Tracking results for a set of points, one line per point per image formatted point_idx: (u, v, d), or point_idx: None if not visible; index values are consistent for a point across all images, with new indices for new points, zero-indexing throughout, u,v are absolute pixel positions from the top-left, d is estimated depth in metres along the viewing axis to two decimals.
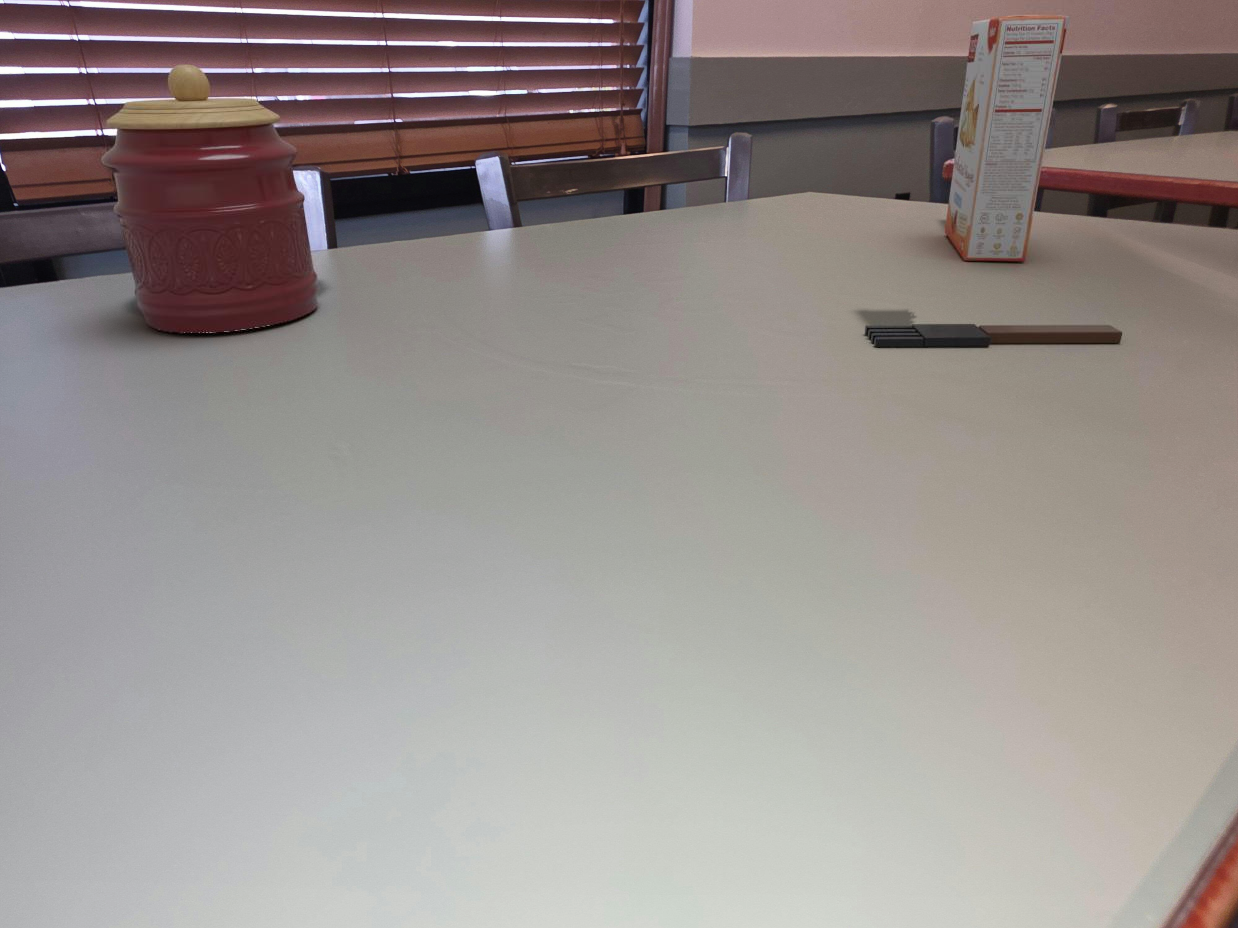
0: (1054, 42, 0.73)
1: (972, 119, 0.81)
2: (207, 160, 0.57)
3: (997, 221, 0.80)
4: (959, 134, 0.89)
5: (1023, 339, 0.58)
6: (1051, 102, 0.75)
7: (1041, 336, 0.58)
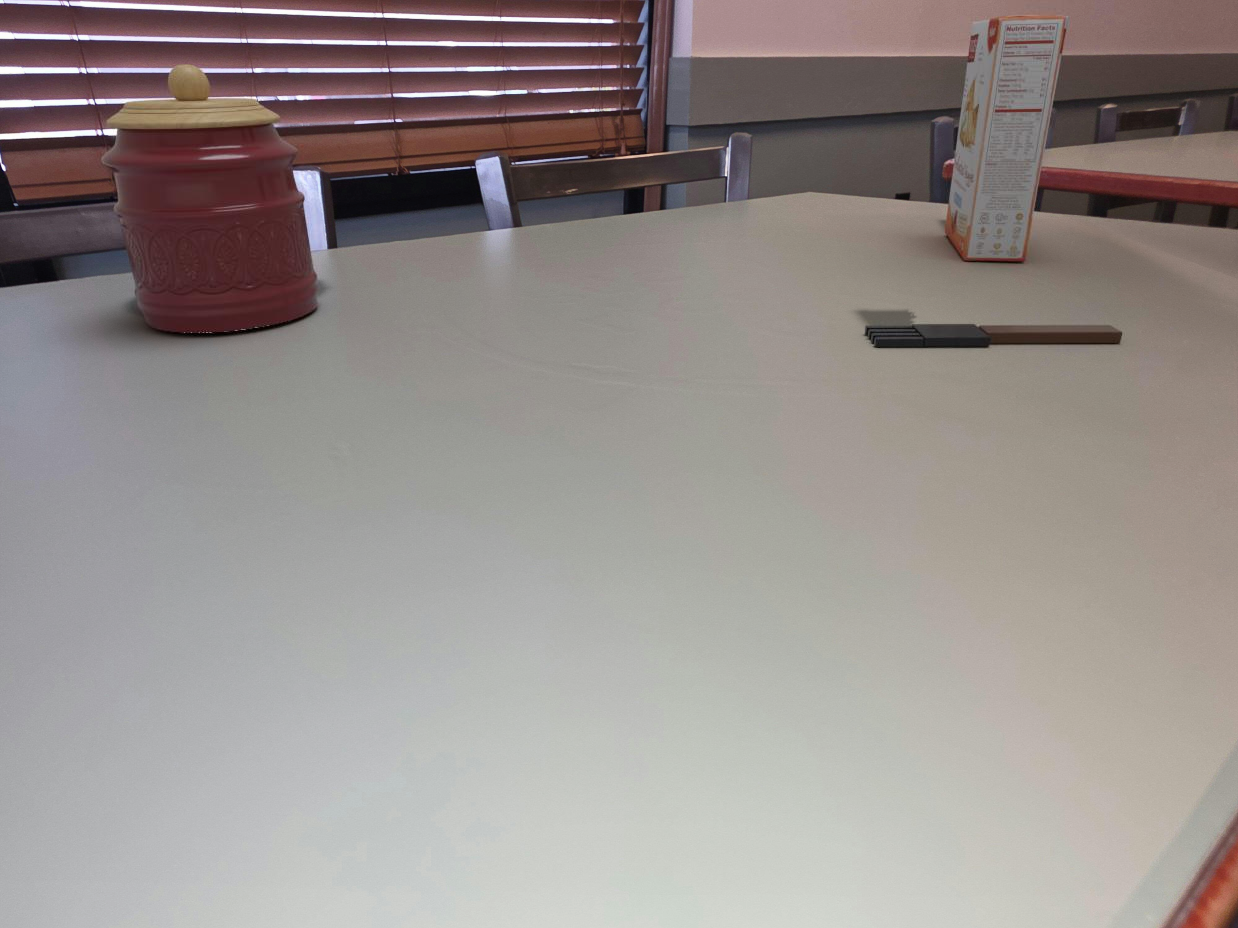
0: (1054, 42, 0.73)
1: (972, 119, 0.81)
2: (207, 160, 0.57)
3: (997, 221, 0.80)
4: (959, 134, 0.89)
5: (1023, 339, 0.58)
6: (1051, 102, 0.75)
7: (1041, 336, 0.58)
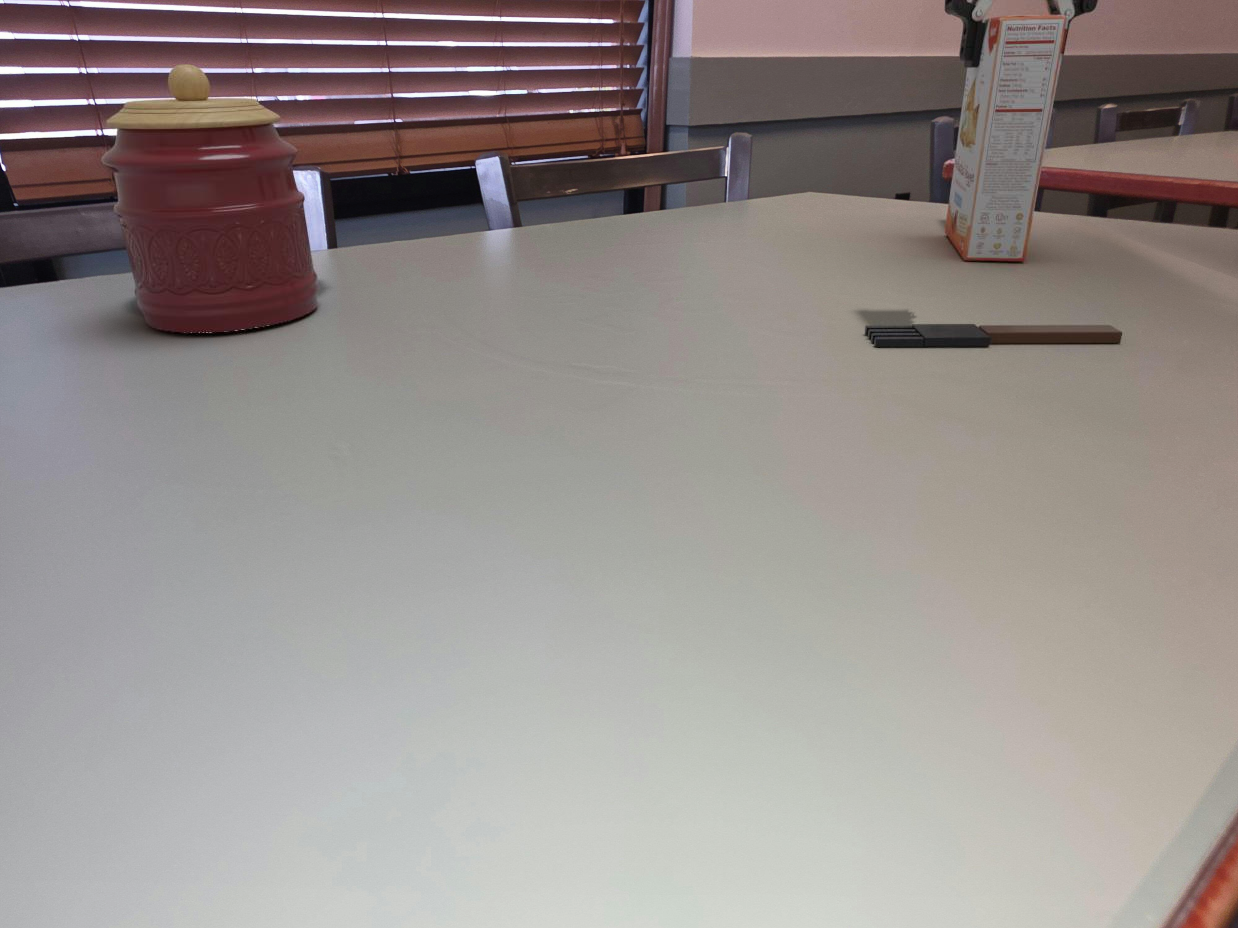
0: (1054, 42, 0.73)
1: (972, 119, 0.81)
2: (207, 160, 0.57)
3: (997, 221, 0.80)
4: (959, 134, 0.88)
5: (1023, 339, 0.58)
6: (1051, 102, 0.75)
7: (1041, 336, 0.58)
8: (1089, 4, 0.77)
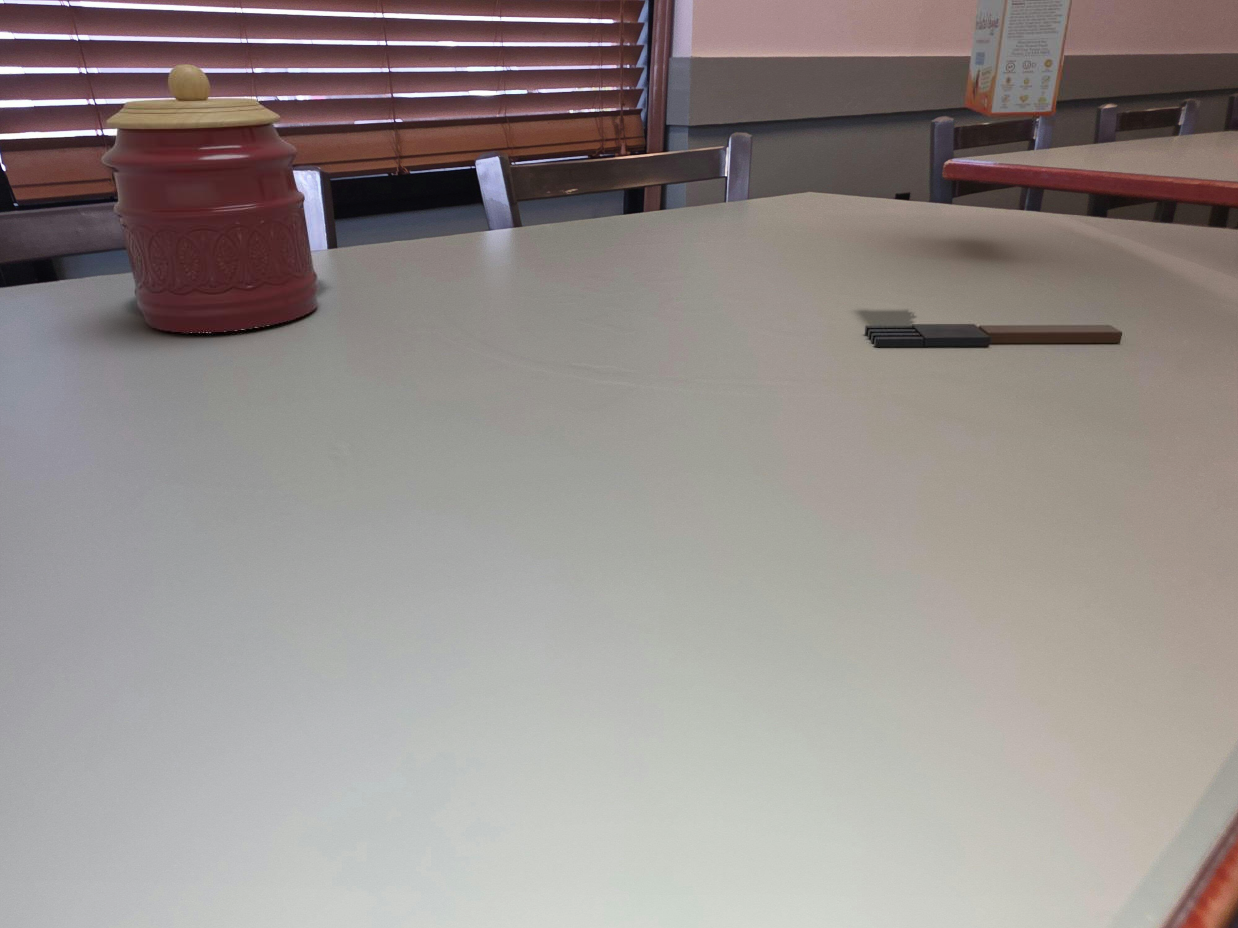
0: None
1: None
2: (207, 160, 0.57)
3: (1024, 70, 0.74)
4: None
5: (1023, 339, 0.58)
6: None
7: (1041, 336, 0.58)
8: None
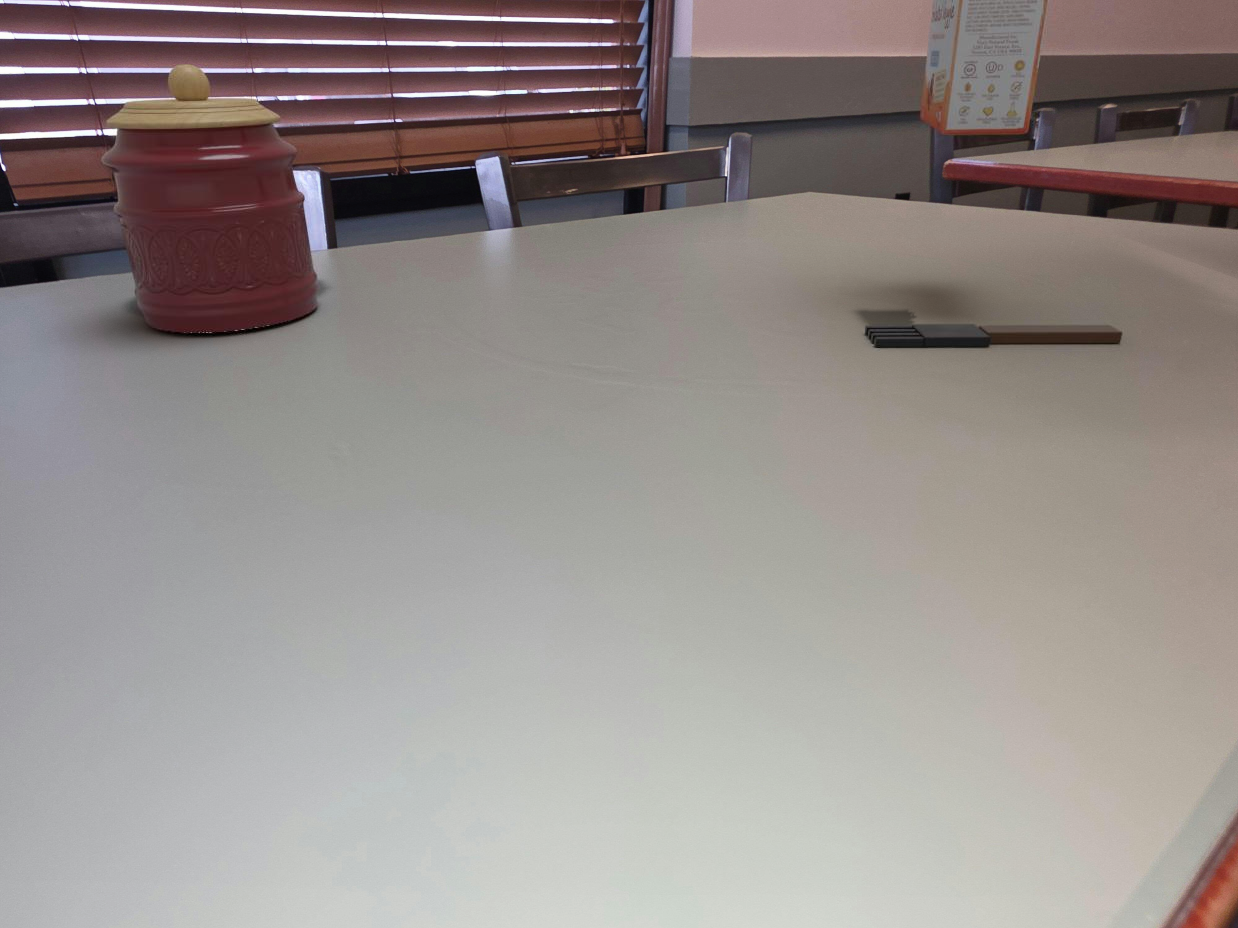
0: None
1: None
2: (207, 160, 0.57)
3: (988, 74, 0.56)
4: None
5: (1023, 339, 0.58)
6: None
7: (1041, 336, 0.58)
8: None
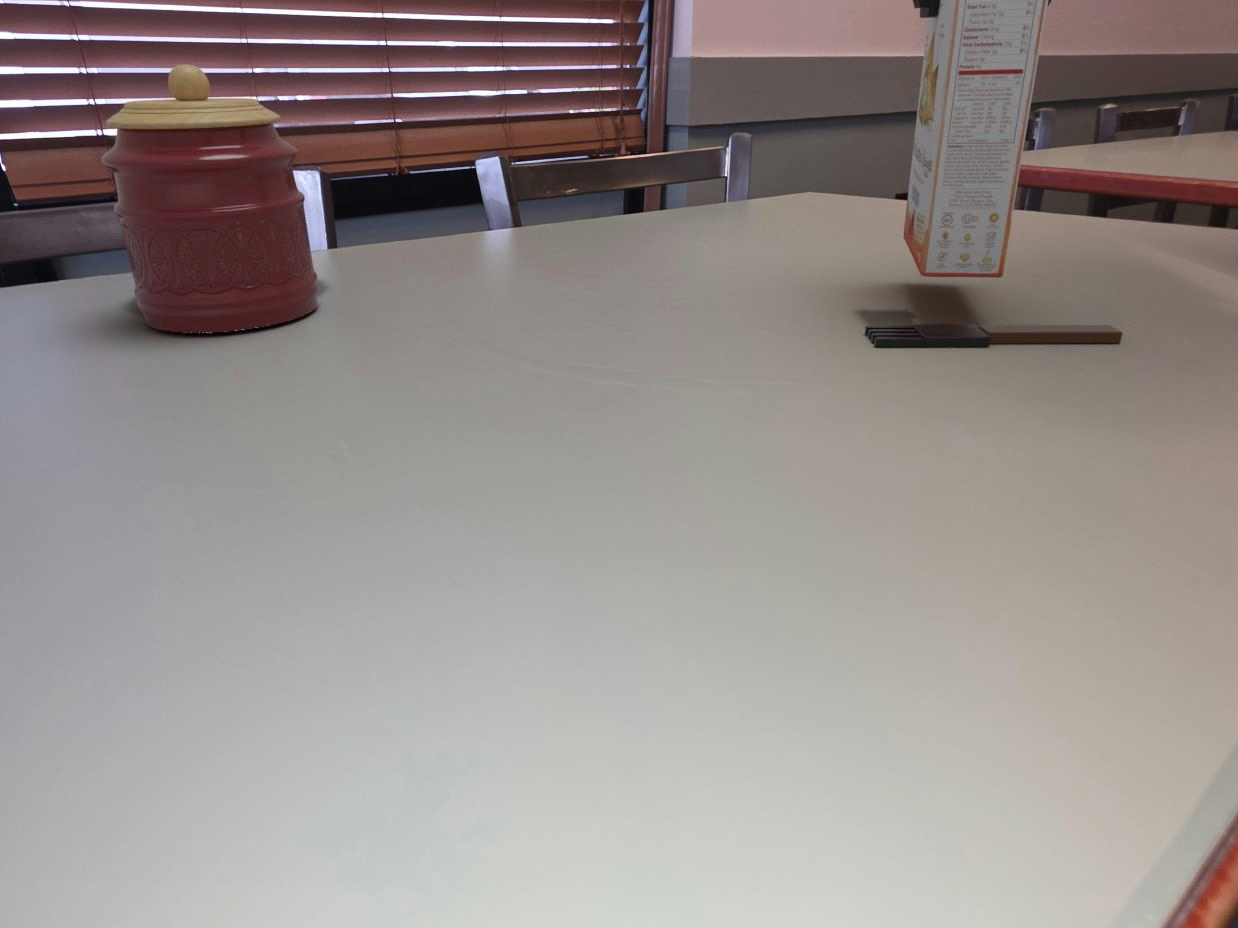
0: None
1: (931, 87, 0.60)
2: (207, 160, 0.57)
3: (964, 224, 0.59)
4: (918, 110, 0.68)
5: (1023, 339, 0.58)
6: (1036, 60, 0.55)
7: (1041, 336, 0.58)
8: None
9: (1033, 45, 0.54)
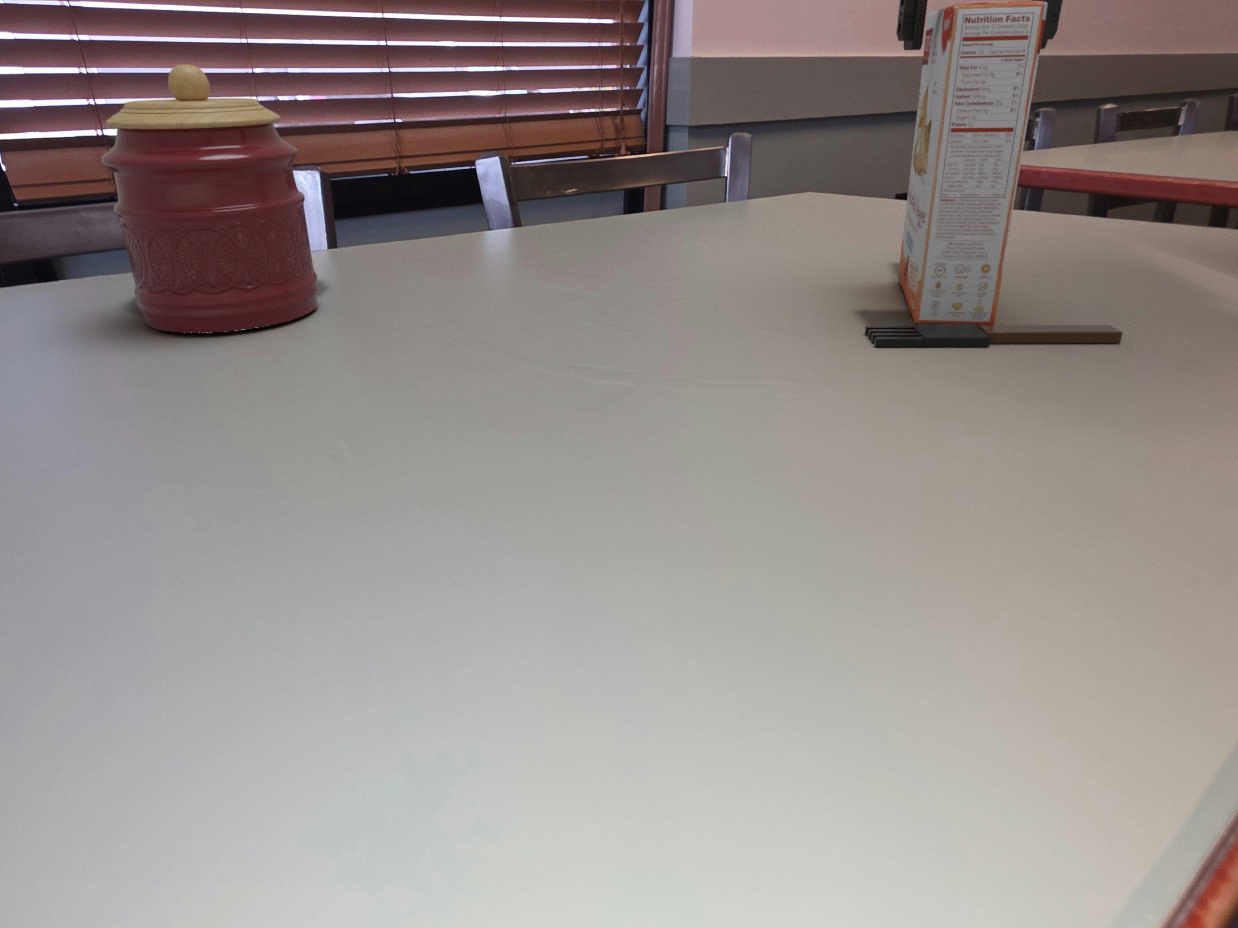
0: (1028, 38, 0.54)
1: (924, 139, 0.62)
2: (207, 160, 0.57)
3: (957, 274, 0.61)
4: (913, 156, 0.69)
5: (1023, 339, 0.58)
6: (1026, 119, 0.56)
7: (1041, 336, 0.58)
8: None
9: (1023, 105, 0.56)
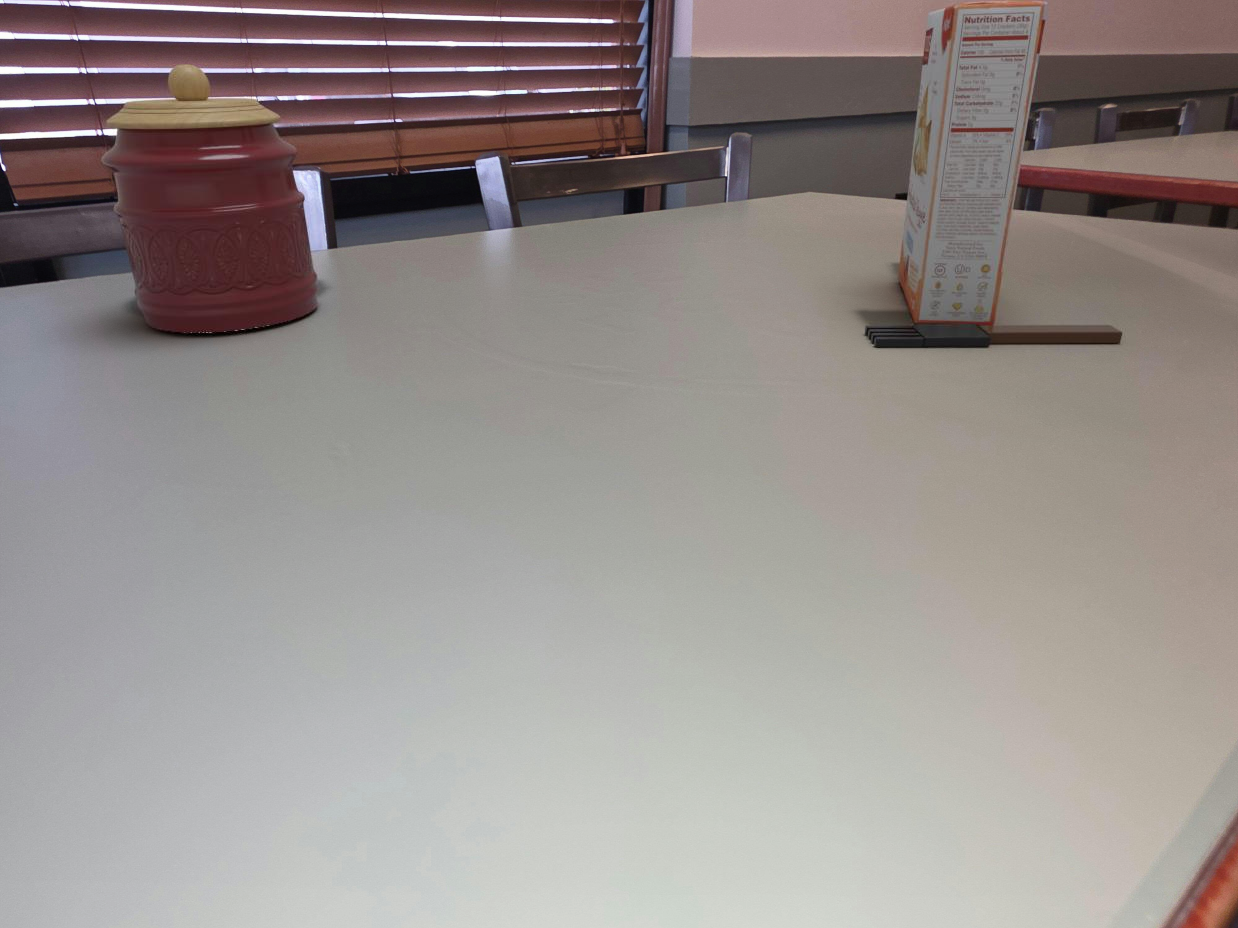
0: (1028, 38, 0.54)
1: (924, 139, 0.62)
2: (207, 160, 0.57)
3: (957, 274, 0.61)
4: (913, 156, 0.69)
5: (1023, 339, 0.58)
6: (1026, 119, 0.56)
7: (1041, 336, 0.58)
8: None
9: (1023, 105, 0.56)
